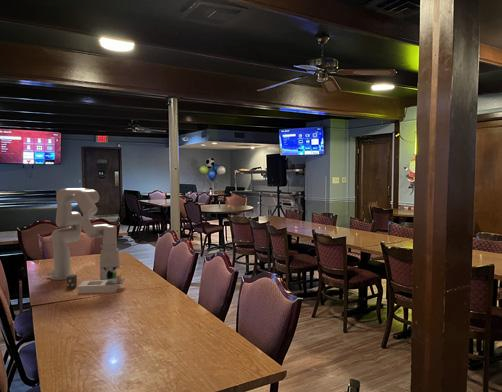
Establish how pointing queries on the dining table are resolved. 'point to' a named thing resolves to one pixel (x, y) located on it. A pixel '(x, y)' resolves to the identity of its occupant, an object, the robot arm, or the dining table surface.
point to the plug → (71, 281)
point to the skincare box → (104, 274)
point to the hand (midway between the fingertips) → (110, 278)
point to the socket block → (97, 287)
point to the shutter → (116, 280)
